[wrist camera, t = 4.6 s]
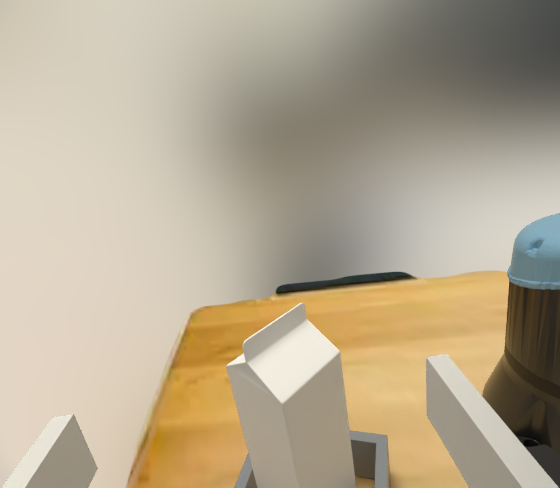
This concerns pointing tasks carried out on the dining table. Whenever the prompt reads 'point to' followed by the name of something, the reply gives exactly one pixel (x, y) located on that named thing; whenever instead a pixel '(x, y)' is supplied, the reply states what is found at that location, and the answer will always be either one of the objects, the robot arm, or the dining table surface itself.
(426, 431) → the dining table surface
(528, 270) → the robot arm
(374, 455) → the housing
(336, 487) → the milk
